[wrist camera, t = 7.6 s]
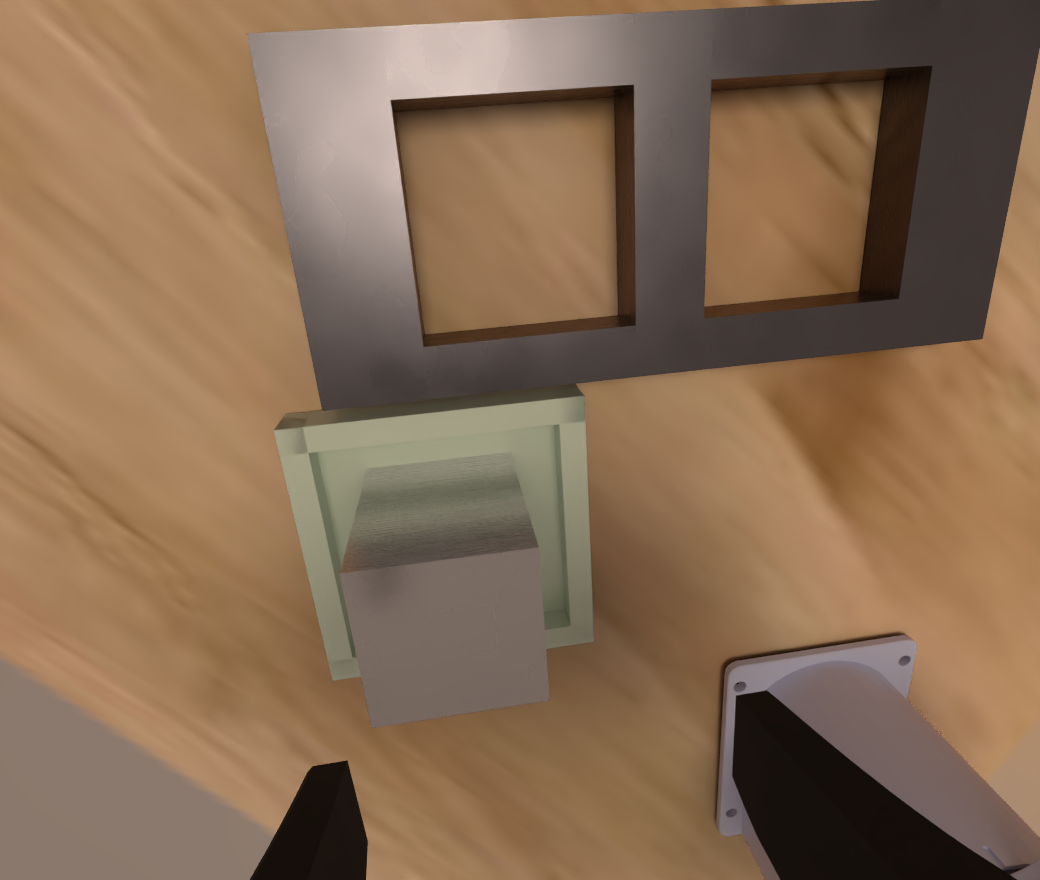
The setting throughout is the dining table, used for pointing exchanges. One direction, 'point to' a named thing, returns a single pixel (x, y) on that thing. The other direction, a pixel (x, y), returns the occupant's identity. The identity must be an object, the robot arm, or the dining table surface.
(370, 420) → the tray
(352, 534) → the grey rectangular block
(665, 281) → the dark grey flat frame
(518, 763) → the dining table surface
